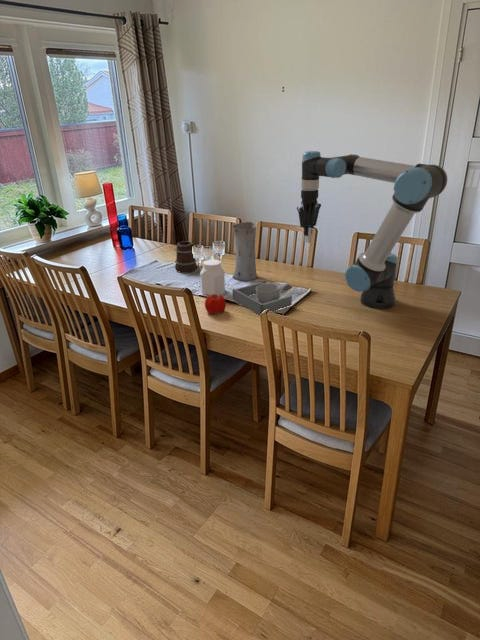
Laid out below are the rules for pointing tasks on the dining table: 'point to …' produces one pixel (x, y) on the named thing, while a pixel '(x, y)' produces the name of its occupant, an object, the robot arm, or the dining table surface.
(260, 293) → the teacup
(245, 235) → the vase
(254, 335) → the dining table surface
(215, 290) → the jar
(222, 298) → the tomato
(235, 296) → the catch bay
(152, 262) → the dining table surface
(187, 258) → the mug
